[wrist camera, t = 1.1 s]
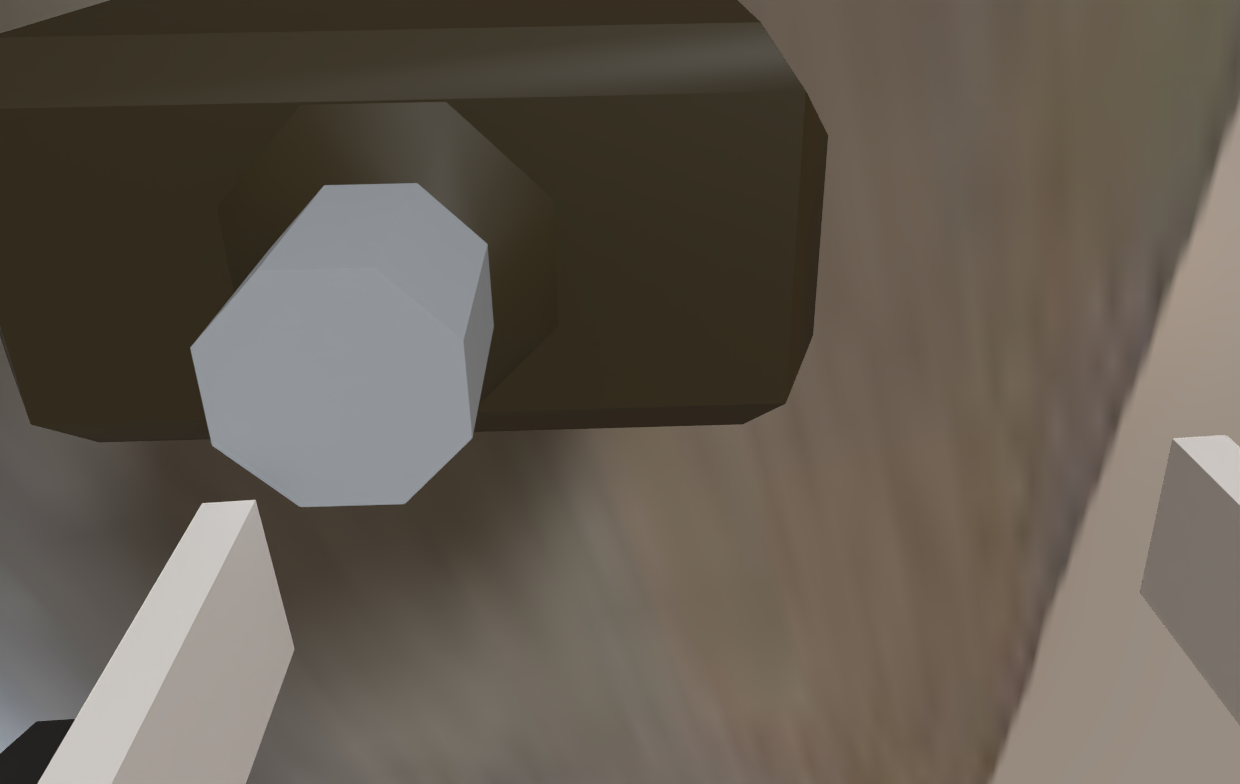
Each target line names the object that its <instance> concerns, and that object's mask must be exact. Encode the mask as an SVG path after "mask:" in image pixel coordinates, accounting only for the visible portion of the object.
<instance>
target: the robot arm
mask: <svg viewBox="0 0 1240 784" xmlns="http://www.w3.org/2000/svg"><path fill="white" fill-rule="evenodd" d="M1140 593H1141V595H1142V596H1143V597H1144V599H1145V600H1146V601H1147V602H1148V604H1149V605H1150V607H1151V608H1152V609H1153V611H1154V612H1155V613H1156V615H1157V616H1158V617H1159V619H1160V620H1161V621H1162V623H1163V624H1164V625H1165V627H1166V628H1167V629H1168V631H1169V632H1170V633H1171V635H1172V636H1173V637H1174V639H1175V640H1176V641H1177V643H1178V644H1179V645H1180V647H1181V648H1182V649H1183V650H1184V652H1185V653H1186V655H1187V656H1188V657H1189V659H1190V660H1191V661H1192V662H1193V664H1194V665H1195V667H1196V668H1197V669H1198V671H1199V672H1200V673H1201V674H1202V676H1203V677H1204V678H1205V680H1206V681H1207V682H1208V684H1209V685H1210V686H1211V688H1212V689H1213V690H1214V691H1215V693H1216V694H1217V696H1218V697H1219V698H1220V700H1221V701H1222V702H1223V704H1224V705H1225V706H1226V708H1227V709H1228V710H1229V712H1230V713H1231V714H1232V716H1233V717H1234V718H1235V720H1236V721H1237V722H1238V724H1239V725H1240V447H1239V446H1238V445H1237V444H1235V443H1234V442H1233V441H1232V440H1231V439H1230V438H1229V437H1228V436H1227V435H1219V436H1203V437H1188V438H1173V440H1172V444H1171V449H1170V453H1169V459H1168V463H1167V467H1166V472H1165V477H1164V481H1163V486H1162V491H1161V495H1160V500H1159V505H1158V510H1157V514H1156V519H1155V524H1154V528H1153V533H1152V538H1151V542H1150V547H1149V552H1148V557H1147V561H1146V566H1145V571H1144V575H1143V580H1142V585H1141V589H1140ZM293 652H294V645H293V641H292V637H291V633H290V630H289V626H288V622H287V618H286V614H285V610H284V607H283V603H282V599H281V595H280V591H279V587H278V584H277V580H276V576H275V572H274V568H273V565H272V561H271V557H270V553H269V549H268V545H267V542H266V538H265V534H264V530H263V526H262V522H261V519H260V515H259V511H258V507H257V503H256V500H243V501H228V502H213V503H202V504H201V506H200V508H199V509H198V511H197V513H196V514H195V516H194V518H193V520H192V521H191V523H190V525H189V526H188V528H187V530H186V531H185V533H184V535H183V537H182V538H181V540H180V542H179V543H178V545H177V547H176V548H175V550H174V552H173V554H172V555H171V557H170V559H169V560H168V562H167V564H166V566H165V567H164V569H163V571H162V572H161V574H160V576H159V577H158V579H157V581H156V583H155V584H154V586H153V588H152V589H151V591H150V593H149V594H148V596H147V598H146V600H145V601H144V603H143V605H142V606H141V608H140V610H139V611H138V613H137V615H136V617H135V618H134V620H133V622H132V623H131V625H130V627H129V629H128V630H127V632H126V634H125V635H124V637H123V639H122V640H121V642H120V644H119V646H118V647H117V649H116V651H115V652H114V654H113V656H112V657H111V659H110V661H109V663H108V664H107V666H106V668H105V669H104V671H103V673H102V675H101V676H100V678H99V680H98V681H97V683H96V685H95V686H94V688H93V690H92V692H91V693H90V695H89V697H88V698H87V700H86V702H85V703H84V705H83V707H82V709H81V710H80V712H79V714H78V715H77V717H76V719H68V720H53V721H38V722H36V723H34V724H33V725H32V726H31V727H30V728H29V729H28V730H27V731H25V732H24V733H23V734H22V735H21V736H20V737H19V738H17V739H16V740H15V741H14V742H13V743H12V744H11V745H10V746H8V747H7V748H6V749H5V750H4V751H3V752H2V753H1V754H0V784H246V781H247V779H248V776H249V773H250V770H251V768H252V765H253V762H254V759H255V757H256V754H257V751H258V748H259V746H260V743H261V740H262V737H263V735H264V732H265V729H266V726H267V724H268V721H269V718H270V715H271V713H272V710H273V707H274V704H275V702H276V699H277V696H278V693H279V691H280V688H281V685H282V682H283V680H284V677H285V674H286V671H287V669H288V666H289V663H290V660H291V658H292V655H293Z"/></svg>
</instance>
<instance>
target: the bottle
mask: <svg viewBox="0 0 1240 784" xmlns="http://www.w3.org/2000/svg"><path fill="white" fill-rule="evenodd" d="M827 142H828V134H827V132H826V130H825V128H824V126H823V124H822V122H821V120H820V118H819V116H818V114H817V112H816V110H815V108H814V106H813V104H812V102H811V100H810V98H809V96H808V94H807V92H806V91H805V89H804V87H803V86H802V84H801V83H800V81H799V80H798V78H797V77H796V75H795V74H794V72H793V71H792V69H791V68H790V66H789V65H788V63H787V62H786V60H785V59H784V57H783V56H782V54H781V53H780V51H779V50H778V48H777V46H776V45H775V43H774V42H773V40H772V39H771V37H770V36H769V34H768V33H767V31H766V30H765V28H764V27H763V25H762V24H761V22H760V21H759V20H758V19H757V18H756V17H754V16H753V15H752V14H751V13H750V12H749V11H748V10H747V9H746V8H745V7H744V6H743V5H742V4H741V3H740V2H738V1H737V0H110V1H106V2H103V3H100V4H97V5H93V6H90V7H87V8H83V9H80V10H77V11H73V12H70V13H67V14H64V15H60V16H57V17H54V18H50V19H47V20H44V21H40V22H37V23H34V24H30V25H27V26H24V27H21V28H17V29H14V30H11V31H7V32H4V33H1V34H0V336H1V339H2V343H3V346H4V349H5V352H6V355H7V358H8V361H9V364H10V367H11V370H12V372H13V375H14V378H15V381H16V384H17V386H18V389H19V392H20V395H21V398H22V401H23V403H24V406H25V409H26V412H27V415H28V418H29V420H30V423H31V424H32V425H36V426H40V427H43V428H47V429H51V430H55V431H59V432H63V433H66V434H70V435H74V436H78V437H82V438H85V439H89V440H93V441H97V442H124V441H160V440H195V439H211V443H212V446H213V447H215V448H216V449H218V450H219V451H221V452H222V453H223V454H225V455H226V456H228V457H229V458H231V459H232V460H233V461H235V462H236V463H238V464H239V465H241V466H242V467H243V468H245V469H246V470H248V471H249V472H251V473H252V474H253V475H255V476H256V477H258V478H259V479H261V480H262V481H264V482H265V483H266V484H268V485H269V486H271V487H272V488H274V489H275V490H276V491H278V492H279V493H281V494H282V495H284V496H285V497H286V498H288V499H289V500H291V501H292V502H294V503H295V504H296V505H298V506H299V507H323V506H357V505H391V504H405V503H406V502H407V501H408V500H409V499H410V498H411V497H412V496H413V495H414V494H416V493H417V492H418V491H419V490H420V489H421V488H422V487H423V486H424V485H425V484H426V483H427V482H428V481H429V480H430V479H431V478H432V477H433V476H434V475H435V474H436V473H437V472H438V471H439V470H440V469H441V468H442V467H443V466H444V465H445V464H446V463H447V462H448V461H449V460H450V459H452V458H453V457H454V456H455V455H456V454H457V453H458V452H459V451H460V450H461V449H462V448H463V447H464V446H465V445H466V444H467V443H468V442H469V441H470V440H471V439H472V437H473V432H481V431H517V430H553V429H588V428H624V427H660V426H695V425H731V424H744V423H746V422H748V421H750V420H752V419H754V418H757V417H759V416H761V415H763V414H765V413H767V412H769V411H771V410H773V409H775V408H777V407H779V406H781V405H783V404H785V403H786V401H787V399H788V396H789V394H790V391H791V389H792V386H793V384H794V381H795V379H796V376H797V374H798V371H799V369H800V366H801V364H802V361H803V359H804V356H805V354H806V351H807V349H808V346H809V344H810V341H811V339H812V336H813V327H814V314H815V300H816V287H817V274H818V261H819V248H820V234H821V221H822V208H823V195H824V182H825V168H826V155H827Z"/></svg>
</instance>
